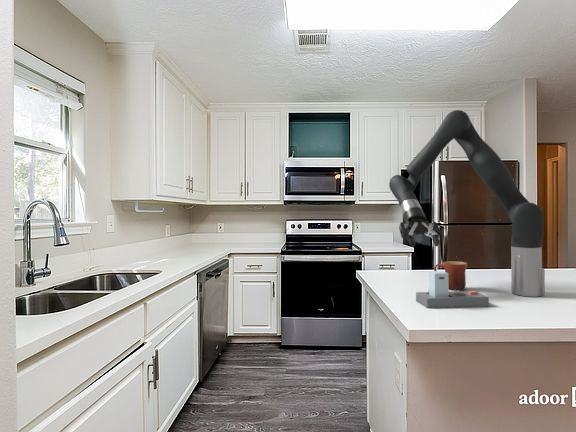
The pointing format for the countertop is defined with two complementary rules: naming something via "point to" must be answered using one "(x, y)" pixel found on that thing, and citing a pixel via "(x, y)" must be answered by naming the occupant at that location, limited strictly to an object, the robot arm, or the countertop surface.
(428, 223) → the robot arm
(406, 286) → the countertop surface
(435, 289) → the block
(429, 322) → the countertop surface
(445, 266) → the mug
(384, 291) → the countertop surface
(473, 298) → the power strip
